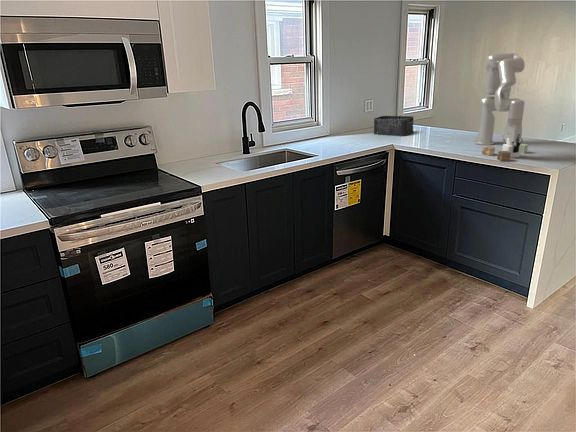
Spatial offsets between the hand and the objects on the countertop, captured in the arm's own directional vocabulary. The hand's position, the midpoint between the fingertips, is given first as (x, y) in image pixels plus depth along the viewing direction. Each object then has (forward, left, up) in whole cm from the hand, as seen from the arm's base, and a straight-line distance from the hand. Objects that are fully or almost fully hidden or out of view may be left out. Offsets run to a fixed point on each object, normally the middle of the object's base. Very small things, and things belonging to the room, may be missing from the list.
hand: (510, 150), depth 254 cm
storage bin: (-107, -28, -4) cm, 110 cm away
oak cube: (-10, -8, -4) cm, 13 cm away
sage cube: (-7, +13, -4) cm, 15 cm away
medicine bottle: (0, 0, -4) cm, 4 cm away
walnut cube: (+6, -9, -4) cm, 11 cm away
